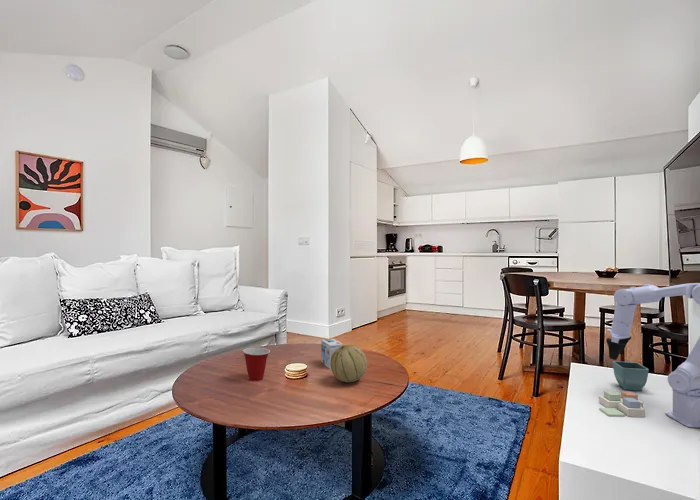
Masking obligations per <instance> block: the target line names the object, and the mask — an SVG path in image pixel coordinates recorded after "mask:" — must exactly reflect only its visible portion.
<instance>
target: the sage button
mask: <svg viewBox="0 0 700 500" xmlns="http://www.w3.org/2000/svg"><path fill="white" fill-rule="evenodd" d="M603 396H604V398H606V399H607V400H609V401H621V393H618V392H617V391H615V390H603Z"/></svg>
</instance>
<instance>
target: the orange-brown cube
mask: <svg viewBox="0 0 700 500" xmlns="http://www.w3.org/2000/svg"><path fill="white" fill-rule="evenodd" d="M620 395H621V398H622V399H623V398H634V399H636V400H639V395H638V394H636V393H635V392H633V391H631V390H626V391H623V390H622V391H620Z"/></svg>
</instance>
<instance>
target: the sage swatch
mask: <svg viewBox="0 0 700 500" xmlns="http://www.w3.org/2000/svg"><path fill="white" fill-rule="evenodd" d="M598 411H600V412H602V413H603V414H605V415H606V416H607V417H623V418H624V417H625V416H626V415H625V414H624V413H622V412H621V411H619V410H618V409H615V408H606V407H599V408H598Z"/></svg>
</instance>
